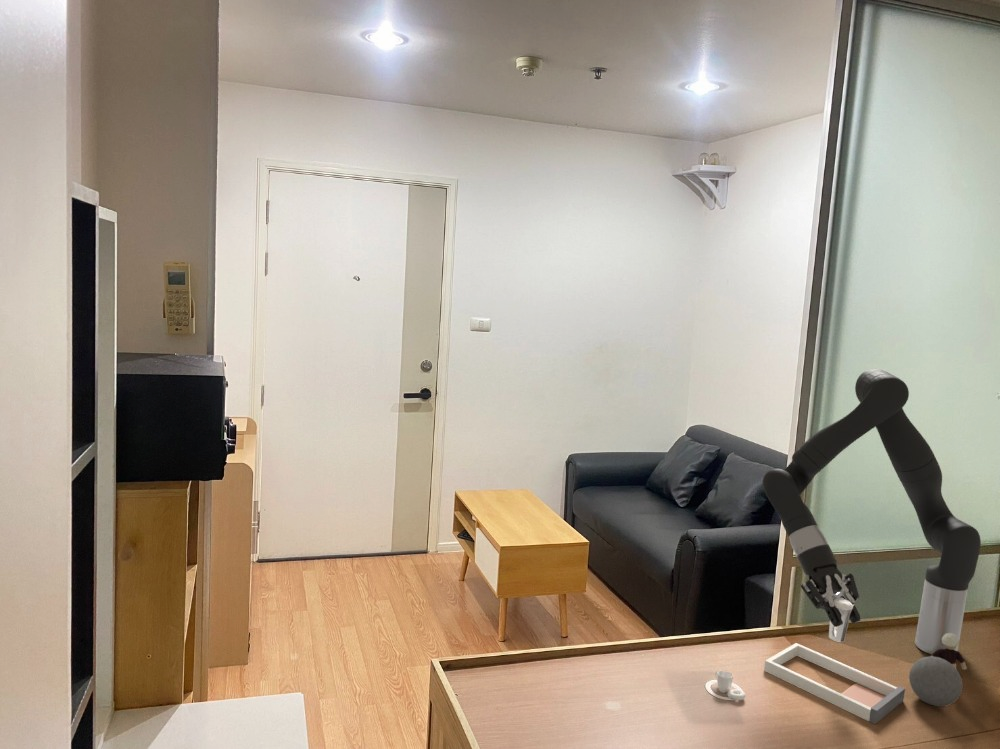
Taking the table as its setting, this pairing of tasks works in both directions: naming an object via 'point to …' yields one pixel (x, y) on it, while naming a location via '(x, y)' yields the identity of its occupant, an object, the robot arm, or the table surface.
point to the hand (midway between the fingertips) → (847, 623)
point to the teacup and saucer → (725, 686)
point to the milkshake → (845, 612)
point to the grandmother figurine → (950, 651)
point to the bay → (850, 700)
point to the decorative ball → (935, 681)
